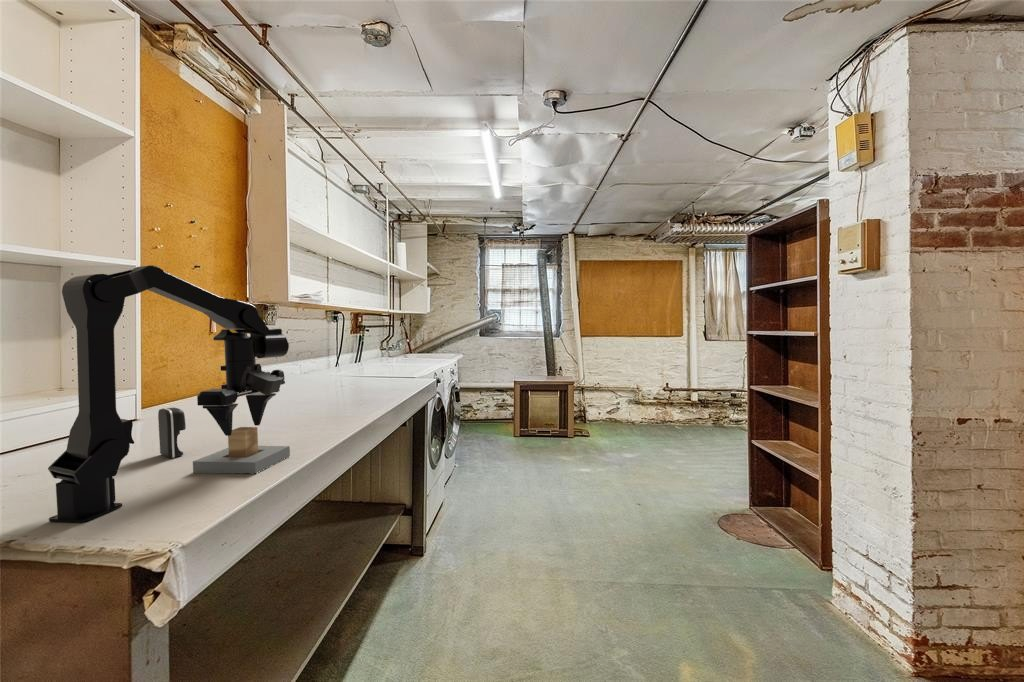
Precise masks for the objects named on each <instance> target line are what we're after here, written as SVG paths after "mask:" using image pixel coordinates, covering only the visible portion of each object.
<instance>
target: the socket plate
mask: <svg viewBox="0 0 1024 682" xmlns="http://www.w3.org/2000/svg"><path fill="white" fill-rule="evenodd" d="M289 456H290V457H291V449H290V445H258V453H257V454H254V455H252V456H250V457H248V458H235V457H229V447H226V448H224V449H221V450H219V451H216V452H214V453H211V454H209V455H206V456H203V457H201V458H198V459H196V460H193V461H192V473H193V474H215V473H257V472H259V471H261V470H263V469H265V468H267V467H269V466H271V465H273V464H275V463H277V462H279V461H281V460H282V461H284V460H285V459H284V458H286V459H288V458H290V457H289ZM287 457H288V458H287ZM283 459H284V460H283ZM282 461H281V462H282ZM279 463H280V462H279ZM277 464H278V463H277ZM275 465H276V464H275ZM273 466H274V465H273ZM271 467H272V466H271ZM269 468H270V467H269ZM267 469H268V468H267ZM265 470H266V469H265ZM263 471H264V470H263ZM261 472H262V471H261ZM259 473H260V472H259ZM257 474H258V473H257Z"/></svg>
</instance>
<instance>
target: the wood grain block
mask: <svg viewBox="0 0 1024 682" xmlns="http://www.w3.org/2000/svg"><path fill="white" fill-rule="evenodd" d="M258 437H259V435H258V426H239V427H237V428H232V433H231V435H230V436H227V441H228V442H227V444H228V447H227V448H229V457H235V458H248V457H250V456H252V455H254V454H257V453H258V446H259V438H258Z"/></svg>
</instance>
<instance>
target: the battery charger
mask: <svg viewBox="0 0 1024 682" xmlns="http://www.w3.org/2000/svg"><path fill="white" fill-rule="evenodd" d="M157 415H158V416H157V418H158V419H157V421H158V437H159V438H158V440H159V454H161V455H162V456H164V457H165V458H168V459H174V458H177V457H181V456H183V455H184V451H182V450H180V448H179V447H178V446H179V445H178V436H179V435H180V433H181V431H185V430H186V428H187V427H186V426H187V425H186V418H185V413H184V411H183V410H182V409H180V408H177V407H167V408H166V407H164V408H160V409H158V412H157Z"/></svg>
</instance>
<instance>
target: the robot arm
mask: <svg viewBox="0 0 1024 682" xmlns="http://www.w3.org/2000/svg"><path fill="white" fill-rule="evenodd" d="M145 291H150V292H152V293H155V294H157V295H159V296H162V297H164V298H167V299H169V300H171V301H174V302H176V303H179V304H181V305H184V306H186V307H189V308H192V309H194V310H196V311H198V312H201V313H203V314H204V315H206V316H207V318H209V319H210V320H211V321H212V322H213V323H215V324H217V325H218V326H220V327H221V328H223V329H221V330H220V332H219V333H218V334H217V333H216V335H215V336H214V337H213V338H212V339H213V341H223V342H224V344H223V345H224V360H225V365H220V371H222V372H224V371H225V384H221V386H220V387H221V388H211V389H207V390H202V391H200V392H199V393H198V394H197V396H196V399H197V406H202V409H206V410H207V411H208V413H209V414H210V415H211V416H212V418H213V419H214V421H215V422H216V424H217V425H218V427H219V428H220V429H221V431H222V433H223V434H224V435H225V436H227V437H228V436H230V435H231V433H232V430H233V419H234V418H233V415H234V414H233V412H234V411H235V409H236V408H237V407H238V405H239V403H236V402H237V400H238V398H240V397H243V396H245V398H246V403H247V405H248V409H249V412H250V415H251V419H252V422H253V424H254V426H255V427H258V426H260V425H261V423H262V419H263V416H264V414H265V409H266V406H267V404H268V402H269V400H271V399H273V397H275V396H276V395H277V393H279V392H280V388H281V386H282V385H284V384H286V381H285V373H284V370H282V369H273V370H272V371H271V372H270V371H266V372H265V371H263V370H262V365H261V364H260V363H256V358H257V359H270V358H281V357H285V356H286V355H287V354H288V352H289V347H290V344H289V342H288V339H287V337H286V336H285V334H283V330H282V328H269V326H267V324H266V323H265V322H264V320H263V318H262V317H261V316H260V314H259V312H258V308H257V307H256V306H255V305H253V304H251V303H248V302H245V301H241V300H237V299H234V298H233V299H232V298H227V297H222V296H219V295H217V294H214V293H212V292H210V291H209V290H207V289H204V288H202V287H199V286H197V285H195V284H193V283H191V282H188V281H187V280H184V279H182V278H180V277H178V276H175V275H174V274H171V273H169V272H167V271H164V270H163V269H162V268H160V267H159V266H156V265H152V264H151V265H142V266H137V267H133V268H132V269H128V270H124V271H120V272H115V273H112V274H111V273H110V274H105V273H96V274H95V273H94V274H83V275H77V276H73V277H71V278H70V279H68V280H67V281H66V282H64V283H63V285H62V289H61V293H62V298H63V303H64V307H65V309H66V313H67V314H68V316H69V317H70V320H71V322H72V323H73V325H74V327H75V330H76V354H77V355H76V358H77V389H78V390H77V392H78V395H77V397H78V398H77V399H78V414H77V416H76V418H75V420H74V423H72V426H71V428H70V430H69V434H68V440H67V444H66V449H65V451H63V453H62V454H61V455H60V456H58V457H57V459H55V460H54V461H53V462H52V463H51V464H50V465H49V466H48V468H47V469H48V472H49V473H50V474H51V476H52V478H53V479H59V480H60V481H59V482H57V483H56V482H55V495H56V497H55V498H56V511H57V512H56V513H57V514H56V515H53V516H50V517H48V522H60V523H61V522H64V523H66V522H67V523H85V522H89V521H91V520H93V519H95V518H97V517H99V516H101V515H105V514H107V513H109V512H112V511H113V510H116V509H118V508H121V507H122V506H123V502H116V486H115V485H116V483H115V482H116V481H115V479H114V477H115V476H117V474H118V471H119V467H120V466H121V464H122V463H121V462H122V461H123V460H124V458H126V456H128V454H129V452H130V447H131V444H132V445H134V444H135V440H134V439H133V435H132V434H133V433H132V432H133V425H134V423H133V420H131V419H125V418H121V416H120V415H119V413H118V411H117V391H116V390H117V389H116V388H117V387H116V386H117V385H116V355H115V353H116V352H115V351H116V350H115V327H116V325H117V324H118V321H119V319H120V318H121V315H122V313H123V312H124V311H123V310H124V304H125V301H126V298H128V297H131V296H133V295H138V294H140V293H142V292H145ZM231 330H233V331H234V332H232V331H231ZM248 334H249V335H248Z"/></svg>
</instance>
